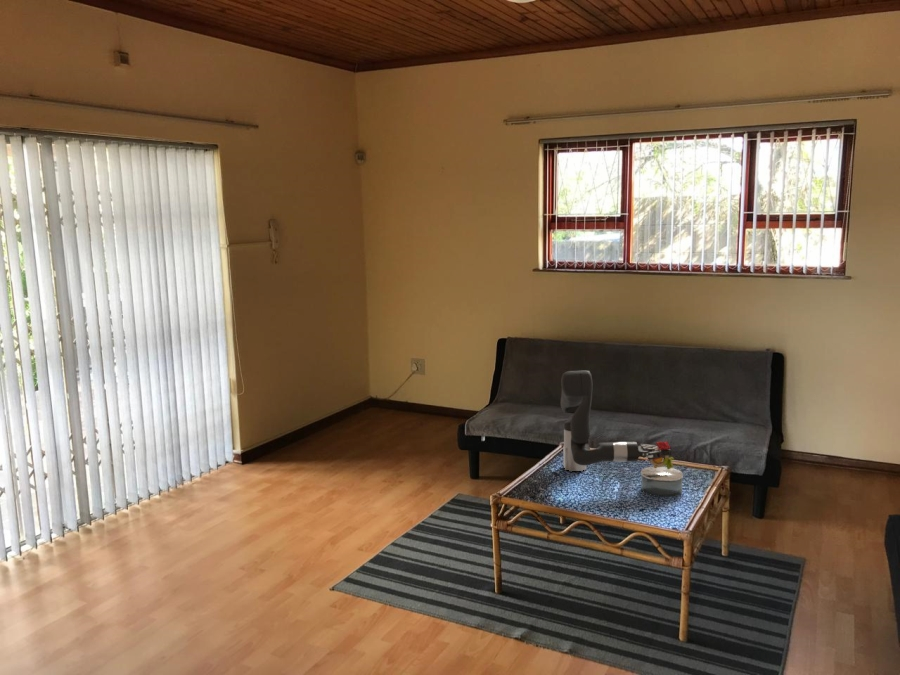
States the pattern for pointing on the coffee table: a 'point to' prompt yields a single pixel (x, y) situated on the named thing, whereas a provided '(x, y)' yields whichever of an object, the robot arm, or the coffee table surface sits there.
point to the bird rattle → (666, 459)
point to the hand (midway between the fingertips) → (669, 451)
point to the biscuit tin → (661, 481)
